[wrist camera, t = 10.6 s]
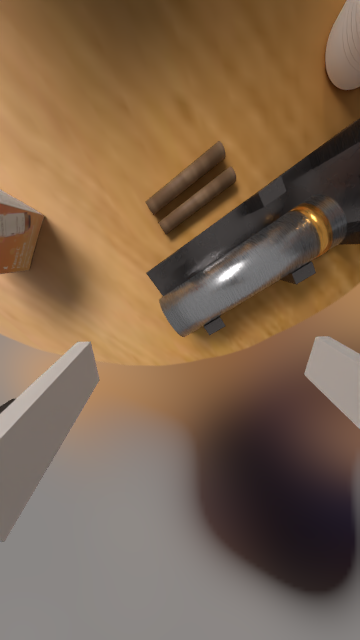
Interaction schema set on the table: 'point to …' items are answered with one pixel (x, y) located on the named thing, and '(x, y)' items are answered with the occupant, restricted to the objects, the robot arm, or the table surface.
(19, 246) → the small box
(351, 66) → the cup
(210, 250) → the rail
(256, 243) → the tube
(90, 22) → the table surface
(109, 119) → the table surface
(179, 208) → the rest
